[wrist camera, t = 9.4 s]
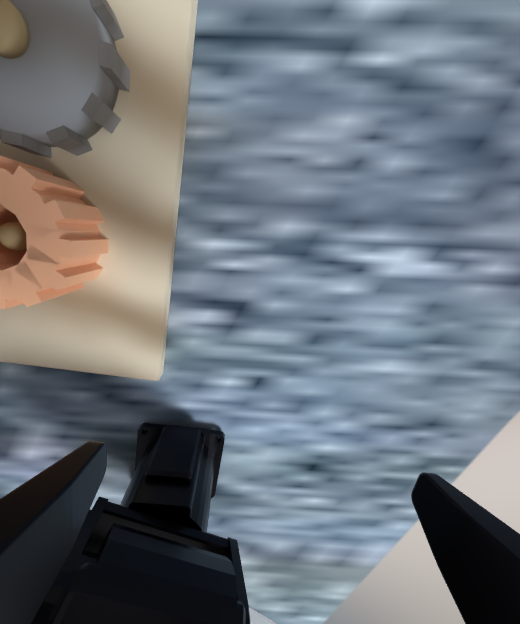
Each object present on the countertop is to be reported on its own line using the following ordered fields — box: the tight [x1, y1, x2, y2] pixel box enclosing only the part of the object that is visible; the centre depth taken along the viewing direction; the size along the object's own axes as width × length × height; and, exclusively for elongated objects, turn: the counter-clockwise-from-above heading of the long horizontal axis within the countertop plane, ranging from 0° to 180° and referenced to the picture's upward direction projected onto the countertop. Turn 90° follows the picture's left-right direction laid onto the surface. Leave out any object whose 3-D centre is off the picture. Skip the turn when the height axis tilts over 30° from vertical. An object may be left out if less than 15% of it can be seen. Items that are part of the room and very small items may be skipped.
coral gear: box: [0, 156, 109, 309], centre depth 14 cm, size 7×7×4 cm
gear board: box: [0, 0, 198, 381], centre depth 14 cm, size 22×14×5 cm, turn 170°
